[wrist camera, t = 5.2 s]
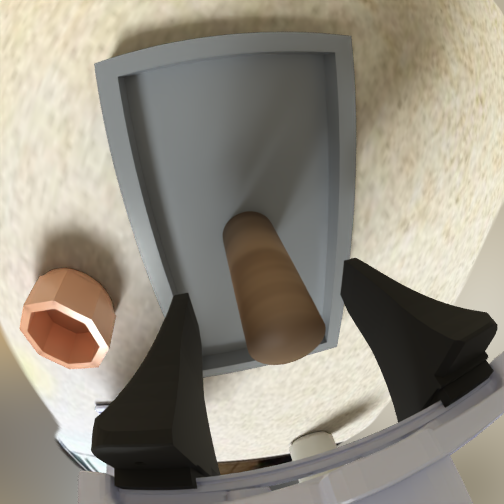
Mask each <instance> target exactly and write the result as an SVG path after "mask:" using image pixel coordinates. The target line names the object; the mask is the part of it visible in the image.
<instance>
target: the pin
mask: <svg viewBox="0 0 504 504" xmlns="http://www.w3.org/2000/svg"><path fill="white" fill-rule="evenodd" d="M223 243H224V248H225V252H226V257H227V262H228V266H229V271H230V275H231V280H232V284H233V289H234V293H235V298H236V302H237V306H238V311H239V315H240V319H241V324H242V328H243V332H244V336H245V341H246V345H247V349H248V352H249V354H250V356H251V357H252V358H253V359H254V360H256V361H258V362H260V363H263V364H268V365H280V364H286V363H290V362H293V361H296V360H298V359H301V358H303V357H304V356H306V355H308V354H309V353H311V352H312V351H313V350H314V349H315V348H317V346H318V345H319V344H320V343H321V341H322V340H323V338H324V335H325V331H326V327H325V323H324V321H323V319H322V317H321V315H320V313H319V311H318V309H317V307H316V305H315V303H314V302H313V300H312V298H311V296H310V294H309V292H308V290H307V288H306V286H305V284H304V282H303V281H302V279H301V277H300V275H299V273H298V271H297V269H296V267H295V266H294V264H293V262H292V260H291V258H290V256H289V254H288V253H287V251H286V249H285V247H284V245H283V243H282V242H281V240H280V238H279V236H278V234H277V232H276V231H275V229H274V227H273V225H272V223H271V222H270V220H269V219H268V218H267V217H266V216H265V215H263V214H261V213H258V212H253V211H248V212H242V213H240V214H237V215H235V216H234V217H232V218H231V219H230V220H229V221H228V222H227V224H226V225H225V227H224V230H223Z"/></svg>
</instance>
